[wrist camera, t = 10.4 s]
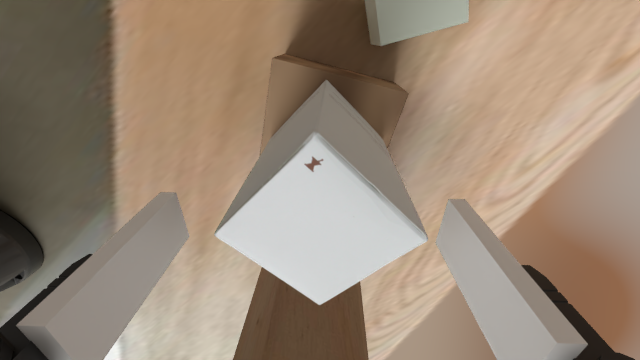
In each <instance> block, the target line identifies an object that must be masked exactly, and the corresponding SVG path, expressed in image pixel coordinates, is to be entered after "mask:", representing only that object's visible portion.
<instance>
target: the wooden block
mask: <svg viewBox="0 0 640 360" xmlns="http://www.w3.org/2000/svg"><path fill="white" fill-rule="evenodd" d="M233 360H368V351H367V341H366V332H365V323H364V314H363V304H362V295H361V286H360V281H359V282H358V283H356V284H354V285H353V286H351V287H349V288H348V289H346V290H344V291H343V292H341V293H340V294H338V295H336V296H335V297H333V298H331V299H330V300H328V301H326V302H324V303H323V304H321V305H318V304H317V303H315V302H314V301H312V300H311V299H310V298H308V297H307V296H305V295H304V294H302V293H301V292H299V291H298V290H296V289H295V288H293V287H292V286H290V285H289V284H287V283H286V282H284V281H283V280H281V279H280V278H278V277H277V276H275V275H274V274H272V273H271V272H269V271H268V270H266V269H265V268H263V267H262V269H261V272H260V275H259V278H258V281H257V285H256V288H255V291H254V294H253V297H252V301H251V304H250V307H249V310H248V313H247V317H246V320H245V323H244V326H243V329H242V333H241V336H240V339H239V342H238V345H237V349H236V352H235V355H234V358H233Z"/></svg>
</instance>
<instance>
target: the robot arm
mask: <svg viewBox="0 0 640 360" xmlns="http://www.w3.org/2000/svg"><path fill="white" fill-rule="evenodd" d="M188 237H189V233H188V230H187V227H186V224H185V220H184V217H183V214H182V210H181V207H180V204H179V200H178V197H177V194H176V192H160V193H159V194H158V195H157V196H156V197H155V198H154V199H153V200H151V201H150V202H149V203H148V204H147V205H146V206H145V207H144V208H143V209H142V210H141V211H140V212H138V213H137V214H136V215H135V216H134V217H133V218H132V219H131V220H130V221H129V222H128V223H126V224H125V225H124V226H123V227H122V228H121V229H120V230H119V231H118V232H117V233H116V234H115V235H113V236H112V237H111V238H110V239H109V240H108V241H107V242H106V243H105V244H104V245H103V246H102V247H100V248H99V249H98V250H97V251H96V252H95V253H94V254H88V255H87V256H85V257H83V258H82V259H80V260H78V261H77V262H75V263H73V264H72V265H71V266H70V267H68V268H67V269H66V270H65V271H64V272H63V273H62V274H61V275H59V278H58V279H57V278H56V279H55V280H54V281H53V282H52V283H50V284H49V285H48V286H47V289H44V290H42V291H41V292H40V293H39V294H38V295H37V296H36V297H35V298H33V299H32V300H31V301H30V302H29V303H28V304H27V305H26V306H24V307H23V308H22V309H21V310H20V311H19V312H18V313H16V314H15V315H14V316H13V317H12V318H11V319H10V320H9V321H7V322H6V323H5V324H4V325H3V326H2V327H1V328H0V360H103V359H104V358H105V356H106V355H107V354H108V352H109V351H110V349H111V348H112V346H113V345H114V343H115V342H116V341H117V339H118V338H119V336H120V335H121V333H122V332H123V331H124V329H125V328H126V326H127V325H128V323H129V322H130V321H131V319H132V318H133V316H134V315H135V313H136V312H137V311H138V309H139V308H140V306H141V305H142V303H143V302H144V301H145V299H146V298H147V296H148V295H149V293H150V292H151V290H152V289H153V288H154V286H155V285H156V283H157V282H158V280H159V279H160V278H161V276H162V275H163V273H164V272H165V270H166V269H167V268H168V266H169V265H170V263H171V262H172V260H173V259H174V258H175V256H176V255H177V253H178V252H179V250H180V249H181V248H182V246H183V245H184V243H185V242H186V240H187V239H188ZM436 245H437V247H438V249H439V250H440V252H441V254H442V256H443V258H444V260H445V262H446V264H447V266H448V268H449V269H450V271H451V273H452V275H453V277H454V279H455V281H456V283H457V285H458V286H459V288H460V290H461V292H462V294H463V296H464V298H465V300H466V302H467V304H468V306H469V307H470V309H471V311H472V313H473V315H474V317H475V319H476V321H477V323H478V324H479V326H480V328H481V330H482V332H483V334H484V335H485V338H486V340H487V341H488V343H489V345H490V347H491V349H492V351H493V353H494V355H495V357H496V359H497V360H635V359H633V358H631V357H628V356H626V355H623V354H621V353H615V352H614V351H613V350H612V349H611V348H610V347H609V346H608V345H607V343H606V342H605V341H604V340H603V339H602V338H601V337H600V336H599V335H598V333H597V332H596V331H595V330H594V329H593V328H592V327H591V326H590V325H589V324H588V323H587V321H586V320H585V319H584V318H583V317H582V316H581V315H580V314H579V313H578V312H577V311H576V309H575V308H574V307H573V306H572V305H571V304H568V301H567V300H566V298H565V297H564V296H563V295H562V294H561V293H558V290H557V289H556V288H555V286H553V284H552V283H551V282H550V281H549V280H548V279H547V278H546V277H545V276H544V275H542V274H541V273H540V272H538V271H537V270H536V269H534V268H533V267H531V266H530V265H520V264H519V263H518V261H517V260H516V259H515V258H514V257H513V256H512V254H511V253H510V252H509V251H508V249H507V248H506V247H505V246H504V245H503V244H502V242H501V241H500V240H499V239H498V238H497V237H496V235H495V234H494V233H493V232H492V231H491V229H490V228H489V227H488V226H487V225H486V224H485V222H484V221H483V220H482V219H481V218H480V217H479V215H478V214H477V213H476V212H475V211H474V210H473V208H472V207H471V206H470V205H469V204H468V202H467V201H466V200H465V199H448V203H447V206H446V209H445V213H444V216H443V219H442V223H441V226H440V229H439V233H438V236H437V239H436ZM42 263H43V254H42V250H41V248H40V246H39V244H38V243H37V241H36V240H35V238H34V237H33V236H32V235H31V234H30V233H29V232H28V231H27V230H26V229H25V228H24V227H23V226H22V225H21V224H20V223H18V222H17V221H16V220H14V219H13V218H11V217H10V216H8V215H7V214H5V213H3V212H1V211H0V292H1V291H3V290H5V289H7V288H9V287H12V286H14V285H16V284H18V283H20V282H22V281H23V280H25V279H26V278H28V277H29V276H30V275H31V274H33V273H34V272H35V271H37V270H38V269H39V268H40V267H41V265H42Z"/></svg>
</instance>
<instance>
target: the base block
mask: <svg viewBox="0 0 640 360" xmlns="http://www.w3.org/2000/svg"><path fill="white" fill-rule="evenodd" d="M325 80H328V81H329V82H330V84H331V85H332V86H333V87H334V88H335V89H336V90H337V91H338V92H339V93H340V94H341V95H342V96H343V97H344V98H345V99H346V100H347V101H348V102H349V103H350V104H351V105H352V107H353V108H354V109H355V110H356V111H357V112H358V113H359V114H360V115H361V116H362V117H363V118H364V119H365V120H366V121H367V122H368V123H369V125H370V126H371V127H372V128H373V129H374V130H375V131H376V132H377V133H378V134H379V136H380V137H381V138H382V139H383V141H384V143H385V145H386V147H387V148H388V145H389V143H390V140H391V138H392V135H393V132H394V130H395V127H396V125H397V122H398V120H399V117H400V115H401V112H402V109H403V107H404V104H405V102H406V99H407V97H408V94H409V93H408V92H406V91H405V90H404V89H402V88H401V87H400V86H398V85H397V84H396V83H394V82H390V81H387V80H383V79H379V78H375V77H371V76H368V75H364V74H360V73H356V72H352V71H348V70H345V69H341V68H337V67H333V66H329V65H325V64H322V63H318V62H314V61H310V60H306V59H302V58H299V57H295V56H291V55H287V54H283V55H280V56H277V57H274V58H272V65H271V73H270V81H269V88H268V96H267V104H266V111H265V119H264V127H263V134H262V142H261V150H260V155H261V154H262V152H263V150H264V149H265V147H266V145H267V144H268V142H269V140H270V138H271V137H272V136H273V135H274V134H275V133H276V132H277V131H278V130H279V129H280V128H281V126H282V125H283V124H284V123H285V122H286V121H287V120H288V119H289V118H290V117H291V116H292V115H293V114H294V113H295V111H296V110H297V109H298V108H299V107H300V106H301V105H302V104H303V103H304V102H305V101H306V100H307V99H308V98H309V97H310V96H311V95H312V94H313V93H314V92H315V91H316V90H317V89H318V88H319V87H320V86H321V84H322V83H323V82H324V81H325Z"/></svg>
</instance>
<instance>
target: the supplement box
mask: <svg viewBox="0 0 640 360" xmlns="http://www.w3.org/2000/svg"><path fill="white" fill-rule="evenodd" d="M215 236H216V237H217V238H219V239H220V240H222V241H223V242H225V243H226V244H228V245H230V246H231V247H233V248H234V249H236V250H237V251H239V252H240V253H242V254H243V255H245V256H247V257H248V258H250V259H251V260H253V261H254V262H256V263H257V264H259V265H260V266H262V267H263V268H265V269H266V270H268V271H269V272H271V273H272V274H274V275H275V276H277V277H278V278H280V279H281V280H283V281H284V282H286V283H287V284H289V285H290V286H292V287H293V288H295V289H296V290H298V291H299V292H301V293H302V294H304V295H305V296H307V297H308V298H310V299H311V300H312V301H314V302H315V303H317V304H318V305H321V304H323V303H324V302H326V301H328V300H330V299H331V298H333V297H335V296H336V295H338V294H340V293H341V292H343V291H344V290H346V289H348V288H349V287H351V286H353V285H354V284H356V283H358V282H359V281H361V280H363V279H364V278H366V277H368V276H369V275H371V274H372V273H374V272H376V271H377V270H379V269H380V268H382V267H384V266H385V265H387V264H388V263H390V262H392V261H394V260H395V259H397V258H399V257H401V256H402V255H404V254H406V253H407V252H409V251H411V250H413V249H414V248H416V247H418V246H419V245H421V244H423V243H425V242H427V240H428V237H427V234H426V232H425V230H424V227H423V225H422V223H421V220H420V218H419V216H418V213H417V211H416V209H415V207H414V205H413V203H412V201H411V198H410V196H409V194H408V192H407V190H406V188H405V186H404V184H403V182H402V180H401V177H400V175H399V173H398V171H397V169H396V167H395V165H394V163H393V161H392V158H391V156H390V154H389V152H388V150H387V147H386V145H385V143H384V141H383V139H382V138H381V137H380V136H379V134H378V133H377V132H376V131H375V130H374V129H373V128H372V127H371V126H370V125H369V123H368V122H367V121H366V120H365V119H364V118H363V117H362V116H361V115H360V114H359V113H358V112H357V111H356V110H355V109H354V108H353V107H352V105H351V104H350V103H349V102H348V101H347V100H346V99H345V98H344V97H343V96H342V95H341V94H340V93H339V92H338V91H337V90H336V89H335V88H334V87H333V86H332V85H331V84H330V82H329V81H328V80H325V81H324V82H323V83H322V84H321V86H320V87H319V88H318V89H317V90H316V91H315V92H314V93H313V94H312V95H311V96H310V97H309V98H308V99H307V100H306V101H305V102H304V103H303V104H302V105H301V106H300V107H299V108H298V109H297V110H296V111H295V113H294V114H293V115H292V116H291V117H290V118H289V119H288V120H287V121H286V122H285V123H284V124H283V125H282V126H281V128H280V129H279V130H278V131H277V132H276V133H275V134H274V135H273V136H272V137H271V138H270V140H269V142H268V144H267V145H266V147H265V149H264V150H263V152H262V154H261V155H260V157H259V159H258V161H257V162H256V164H255V166H254V167H253V169H252V171H251V172H250V174H249V175H248V177H247V179H246V180H245V182H244V184H243V185H242V187H241V189H240V190H239V192H238V194H237V195H236V197H235V199H234V201H233V202H232V204H231V206H230V207H229V209H228V211H227V213H226V214H225V216H224V218H223V219H222V221H221V223H220V224H219V226H218V228H217V230H216V231H215Z"/></svg>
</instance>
